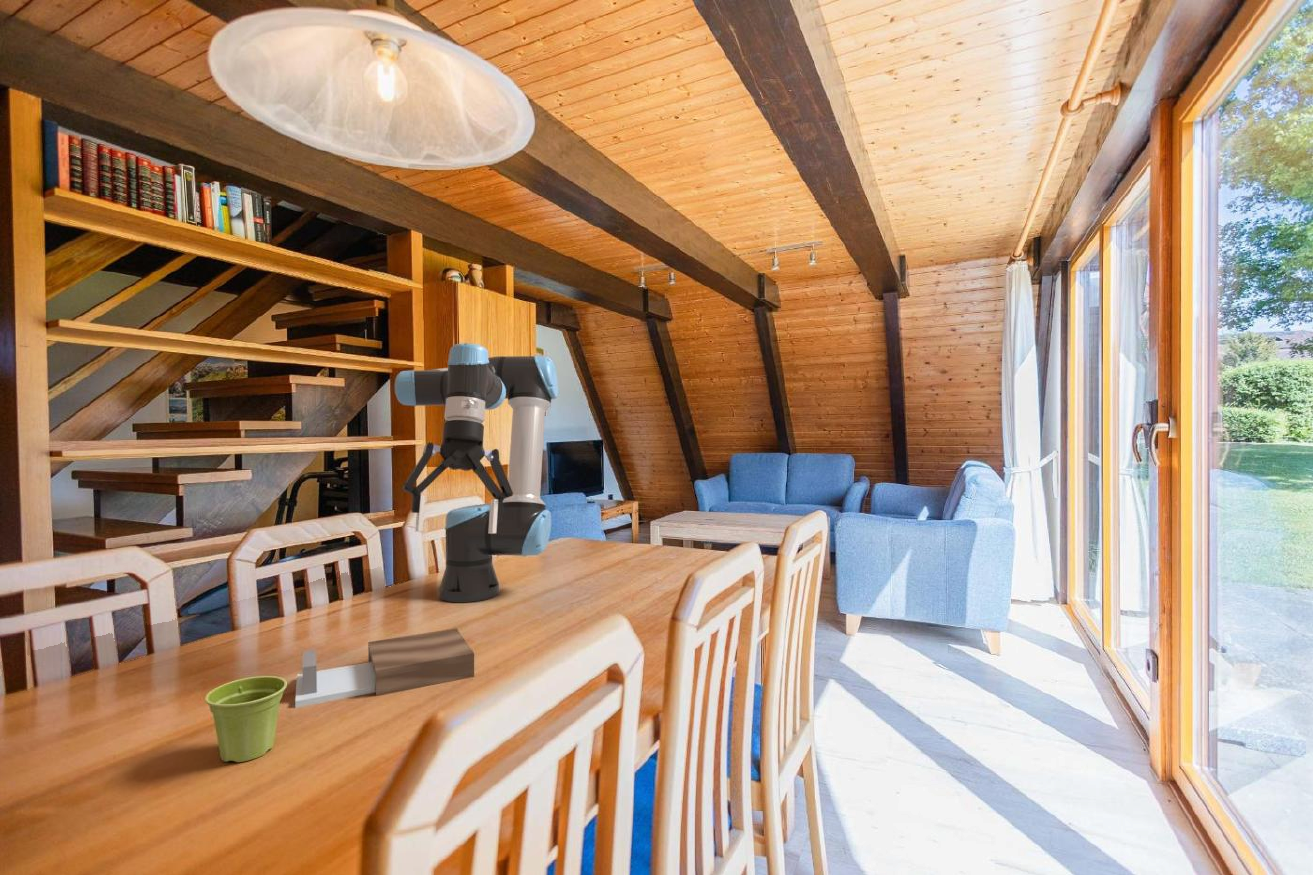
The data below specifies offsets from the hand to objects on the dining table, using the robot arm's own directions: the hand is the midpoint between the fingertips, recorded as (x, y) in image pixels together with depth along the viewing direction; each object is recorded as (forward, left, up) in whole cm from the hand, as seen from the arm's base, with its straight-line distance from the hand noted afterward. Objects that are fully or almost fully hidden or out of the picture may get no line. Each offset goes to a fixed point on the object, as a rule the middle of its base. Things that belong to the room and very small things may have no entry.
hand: (456, 532), depth 117 cm
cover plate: (+1, -15, -25) cm, 29 cm away
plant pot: (+19, -32, -25) cm, 45 cm away
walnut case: (+1, -7, -24) cm, 25 cm away
